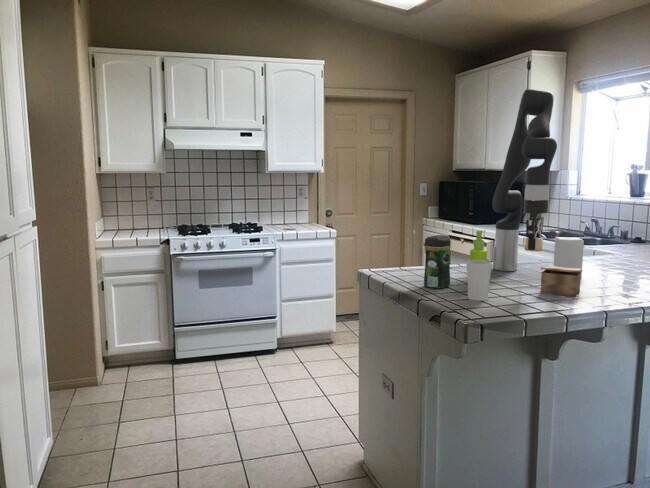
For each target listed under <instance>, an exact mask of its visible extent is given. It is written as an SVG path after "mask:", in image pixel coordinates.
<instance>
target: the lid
mask: <svg viewBox="0 0 650 488" xmlns="http://www.w3.org/2000/svg"><path fill="white" fill-rule="evenodd" d="M540 270H543V271H544V270H555V271H566V272H577V273H578V272H582V273H583V268H582V269H578V268H566V267H555V266H554V265H545V266H541V267H540Z"/></svg>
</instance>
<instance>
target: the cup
mask: <svg viewBox="0 0 650 488" xmlns="http://www.w3.org/2000/svg"><path fill="white" fill-rule="evenodd" d="M492 269H493V261H489V260H487V261H484V260H470V259H468V260H466V273H467V275H466V277H467V299H468V300H471V301H479V302H483V301H487V300H488V299H489V290H490V282H491V274H492Z"/></svg>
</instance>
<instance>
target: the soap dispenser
mask: <svg viewBox="0 0 650 488" xmlns="http://www.w3.org/2000/svg"><path fill="white" fill-rule="evenodd" d="M475 233H476V239H474V240H473V248H471V249H469V260H484V261H488V250H487V249H485V248H484V247H485V240H483V239H482V236H483V235H482V234H483V233H484V232H483V230H476V232H475Z"/></svg>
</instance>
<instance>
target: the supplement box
mask: <svg viewBox="0 0 650 488" xmlns="http://www.w3.org/2000/svg"><path fill="white" fill-rule="evenodd" d="M584 245H585V241H584V239H582V238H579V237H575V236H574V237H568V236H555V237H554V250H553V252H554V253H553V266H555V267H566V268H578V269H582V270H583V260H584ZM582 274H583V271H582V272H581V278H583V277H582Z"/></svg>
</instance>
